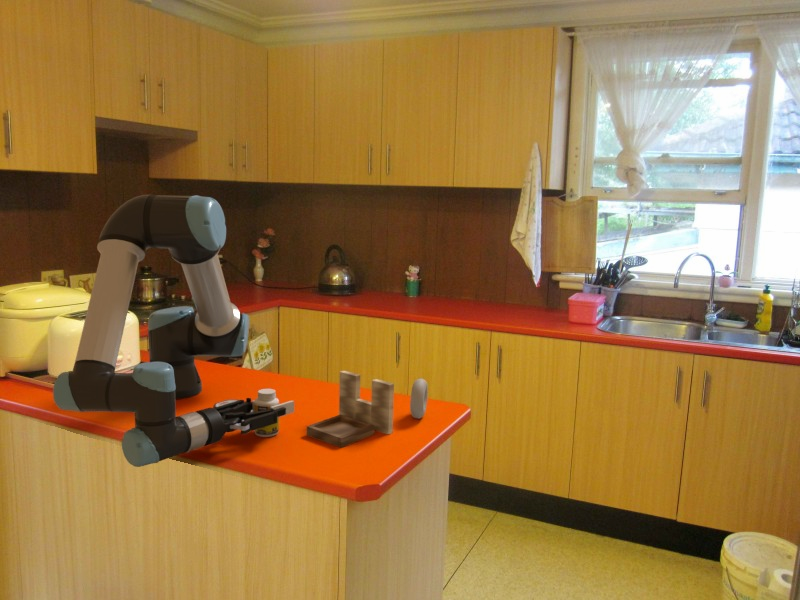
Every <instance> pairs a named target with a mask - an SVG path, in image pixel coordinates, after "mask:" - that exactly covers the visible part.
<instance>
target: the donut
mask: <svg viewBox="0 0 800 600" xmlns="http://www.w3.org/2000/svg"><path fill="white" fill-rule="evenodd" d="M428 388H429V387H428V382H427V381H426V380H425V379H424V378H418V379H416V380H414V382H413V384H412V388H411V392H410V401H409V402H410V403H409V404H410V405H409V406H410V407H409V409H410V413H411V414H410V415H411V416H412V417H413V418H414V419H422V418H423V416H424V415H425V413H426V410H427V404H428V396H429V395H428V393H429V392H428Z"/></svg>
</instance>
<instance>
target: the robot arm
mask: <svg viewBox="0 0 800 600" xmlns="http://www.w3.org/2000/svg"><path fill="white" fill-rule="evenodd" d="M103 226H104V227H103V228H102V230H101V232H100V235H99V238H98V242H97V246H96V249H97V251H98V252H99V253H100V256H99V261H98V264H97V269H96V272H95V277H94V281H93V284H92V285H93V286H92V290H91V293H90V298H89V302H88V307H87V309H86V315H85V319H84V324H83V327H82V331H81V336H80V340H79V344H78V347H77V352H76V357H75V360H74V364H73V369H72V370H69V371H64V372H61V373H60V374H58V375H57V379H55V381H54V384H53V389H52V397H53V401H54V404H55V405H56V407H58V408H59V410H62V411H68V412H69V411H71V412H80V413H84V412H111V413H112V412H114V413H134V427H131V429H128V430H126V431H125V432H124V433H123V436H122V439H121V450H122V453H123V456H124V458H125V460H126V461H127V462H128V463H129V465H132V466H133V467H136V468H140V467H145V466H148V465H151V464H158V463H159V462H161V461H166V460H168V459H169V458H170V459H171V458H173V457H176V456H178V455H181V454H185V453H186V454H190V453H191V451H194V450H197V449H200V448H203V447H207V446H210V445H213V444H216V443H218V442H220V441H222V440H223V437H224V436H225V434H226V433H233V432H235V431H237V430H238V431H240V433H241V435H247V434H248V433H250V432H252V431H254V430H256V429H259V428H262V427H266V426H269V425H272V424H275V423H278V417H279V418H281V417H284V416H286V415H290V414H292V413H293V414H294V413H295V401H294V400H289V401H286V402H282V403H279V404H278V405H275V406H272V407H270V409H267V410H261V411H256V412H254V401H255V400H256V399H254V400H252V398H251V397H246V399H245V400H246V402H244V401H245V400H244V399H238V400H239V401H235V402H232V403H229V404H225V405H222V406H219V407H215V408H213V407H205V408H203V409H200V410H195V411H191V412H188V413H184V414H181V415H178V416H176V415H177V414H176V412H177V411H176V410H177V409H176V407H177V406H176V400H181V399H185V398H186V399H187V398H190V397H194V396H197V395H198V394H200V393H201V392H202V390H203V389H202V387H203V386H202V384H203V383H202V380H201V377H200V374H199V371H198V369H197V366H196V364H195V363H196V362H195V356H196V357H197V356H199V357H200V356H203V357H204V356H205V357H207V356H208V357H229V358H232V357H241V356H243V355H244V354H245V352H246V350H247V346H248V340H249V339H248V338H249V330H250V316H249V314H248V313H244V312H240V310H239V309H238V306H236V304H234V303H232V302H231V299H230V295H229V292H228V288H227V285H226V281H225V280H226V279H225V277H224V273H223V269H222V266H221V262H220V258H219V252H220V250H221V249H222V248H223V247H224V245H225V242H226V239H227V225H226V217H225V214H224V210H223V208H222V206H221V205H220V203H219V202H218V200H216V199H215V198H213V197H210V196H201V195H164V194H163V195H158V194H142V195H138V196H134V197H132V198H131V199H129V200H127V201H126V202H124V203H123V204H121V205H120V206H119V207H118V208H117V209H116V210H115V211H114V212H113V213H112V215H110V216H109V218H108V219H107V221H106V223H105V224H104V225H103ZM151 248H152V249H168V252H169V254H170V256H171V258H172V259H173V260H174V261H175V262H177V263H178V264H180V265H181V268H182V271H183V273H184V276H185V280H186V283H187V286H188V289H189V292H190V293H191V297H192V300H193V303H194V306H195V308H196V312H195V309H194V307H193V306H191V305H190V306H189V305H188V306H187V305H183V306H174V307H167V308H161V309H158V310H156V311H153V312H151V313H150V314H149V315H148V320H147V321H148V322H147V324H148V325H147V333H148V334H147V335H148V355H149V358H148V359H149V360H148V361H145V362H142V363H138V364H136V365H135V366H134V367H133V369H132V372H129V373H127V372H116V366H117V361H118V357H119V352H120V349H121V348H120V347H121V343H122V338H123V336H124V335H123V334H124V330H125V325H126V321H127V316H128V312H129V311H128V310H129V307H130V303H131V299H132V298H131V297H132V292H133V289H134V285H135V284H134V283H135V279H136V274H137V269H138V266H139V262H142V261H143V260H144V259H145V257H146V253H147V250H148V249H151ZM251 410H252V411H253V412H251ZM240 417H241V418H240Z"/></svg>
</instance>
